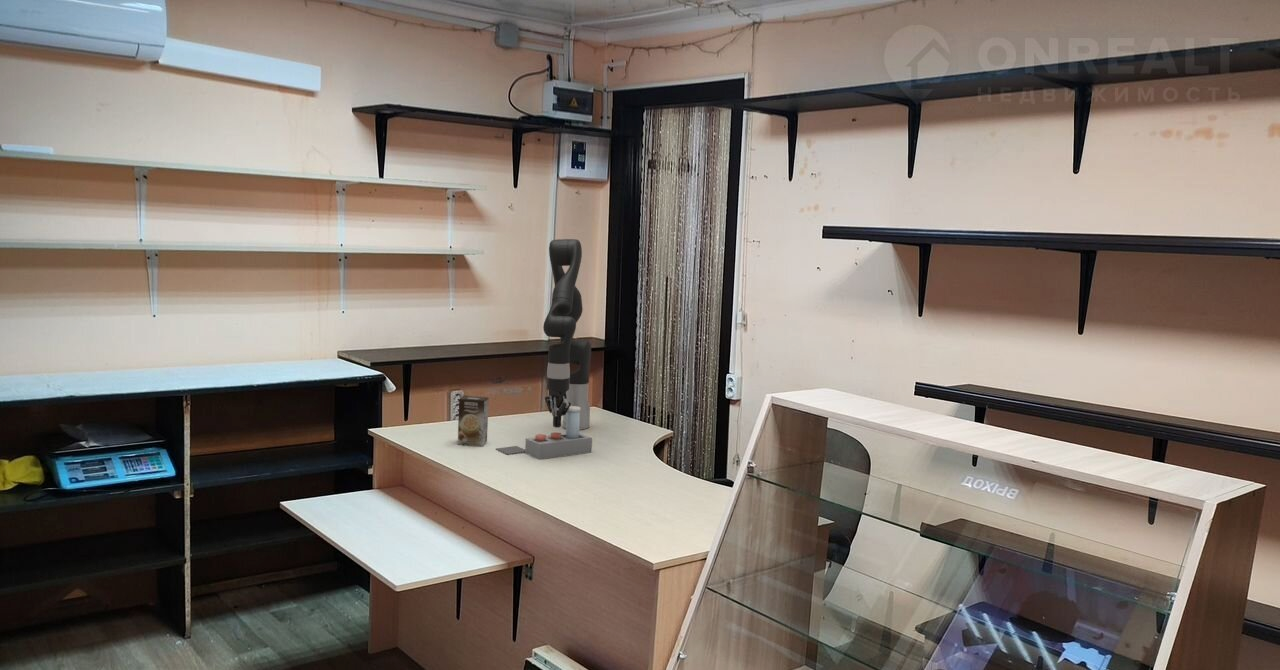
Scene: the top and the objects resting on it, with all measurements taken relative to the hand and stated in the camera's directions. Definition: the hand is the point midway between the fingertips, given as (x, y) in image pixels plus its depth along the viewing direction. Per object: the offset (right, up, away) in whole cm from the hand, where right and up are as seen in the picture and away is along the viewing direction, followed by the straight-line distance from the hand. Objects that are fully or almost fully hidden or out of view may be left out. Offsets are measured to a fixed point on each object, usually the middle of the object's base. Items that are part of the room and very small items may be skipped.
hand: (556, 426), depth 309 cm
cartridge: (+5, -9, +5) cm, 11 cm away
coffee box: (-30, -7, +9) cm, 32 cm away
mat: (-15, -8, +1) cm, 17 cm away
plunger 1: (-5, -8, -3) cm, 10 cm away
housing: (+1, -9, +2) cm, 9 cm away
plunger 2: (-1, -8, +1) cm, 8 cm away
